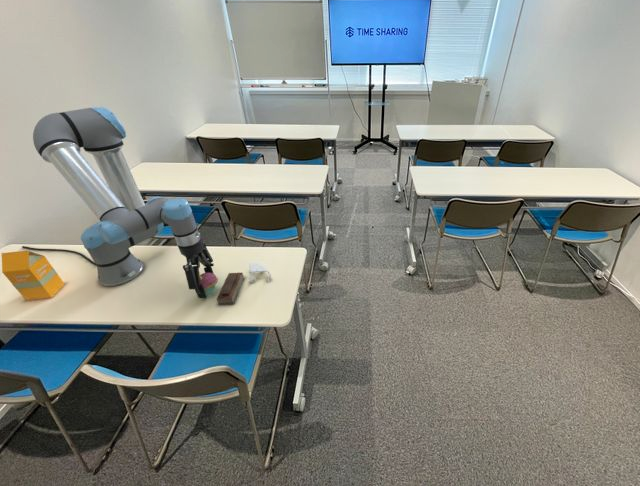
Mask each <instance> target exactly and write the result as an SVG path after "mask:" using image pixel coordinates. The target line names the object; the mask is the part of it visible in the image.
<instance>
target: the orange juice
mask: <svg viewBox="0 0 640 486" xmlns="http://www.w3.org/2000/svg"><path fill="white" fill-rule="evenodd" d="M1 273H2V274H3V275H4V276H5V277H6V279H7V280H8V281H9V283H11V285H12V286H13V288H14V289H16V290H17V292H18V293H19V294H20V296H22V297H23V299H24V300H26V301H33V300H43V299H51V298H53V297H54V296H55V295H56V294H57V293H58V292H59V291H60V290H61V289H62V288H63V287H64V286H65V282H64V280H63V279H62V278H61V277H60V275H59V274H58V272H57V271H56V269H55V268H54V267H53V266H52V264H51V263H50V261H49V260H48V259H47V257H46V256H45V255H43V254H40V253H36V252H33V251H30V250H23V251H21V250H20V251H10V252H1Z"/></svg>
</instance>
